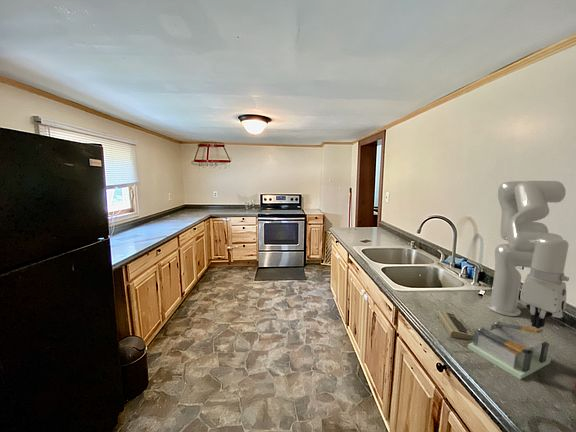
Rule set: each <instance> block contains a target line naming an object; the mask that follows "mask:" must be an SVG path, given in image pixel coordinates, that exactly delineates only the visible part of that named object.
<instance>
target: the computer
mask: <svg viewBox="0 0 576 432" xmlns="http://www.w3.org/2000/svg"><path fill="white" fill-rule="evenodd" d="M436 316H437V318H438V319H440V320H439V321H440V323H441V324H442V325H443V328H444V329H445V330H446V332H447V333H448V335H449V337H450V338H455V339H456V338H457V339H463V340H473V339H474V334H472V333H471V331H470V330H469V329H468V327H467V326H466V325H465V323H464V322H463V320H461V319H460V317H459V316H458V315H457V313H453V312H450V311H445V310H444V311H443V310H438V311H437V314H436Z"/></svg>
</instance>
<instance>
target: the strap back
mask: <svg viewBox="0 0 576 432" xmlns="http://www.w3.org/2000/svg"><path fill="white" fill-rule="evenodd" d="M500 322H501V321H496V322H495V323H493V324H494V325H496V326H501V327H507V328H512V329H515V330H517V331H518V330H520V331H524V332H530V333H535V334H541V333H542V332H544V330H543V329H541V328H538V329H537V328H536V327H532V326H530V327H529V326H524V325H523V326H522V325H517V324H510V323H505V322H501V323H500Z"/></svg>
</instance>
